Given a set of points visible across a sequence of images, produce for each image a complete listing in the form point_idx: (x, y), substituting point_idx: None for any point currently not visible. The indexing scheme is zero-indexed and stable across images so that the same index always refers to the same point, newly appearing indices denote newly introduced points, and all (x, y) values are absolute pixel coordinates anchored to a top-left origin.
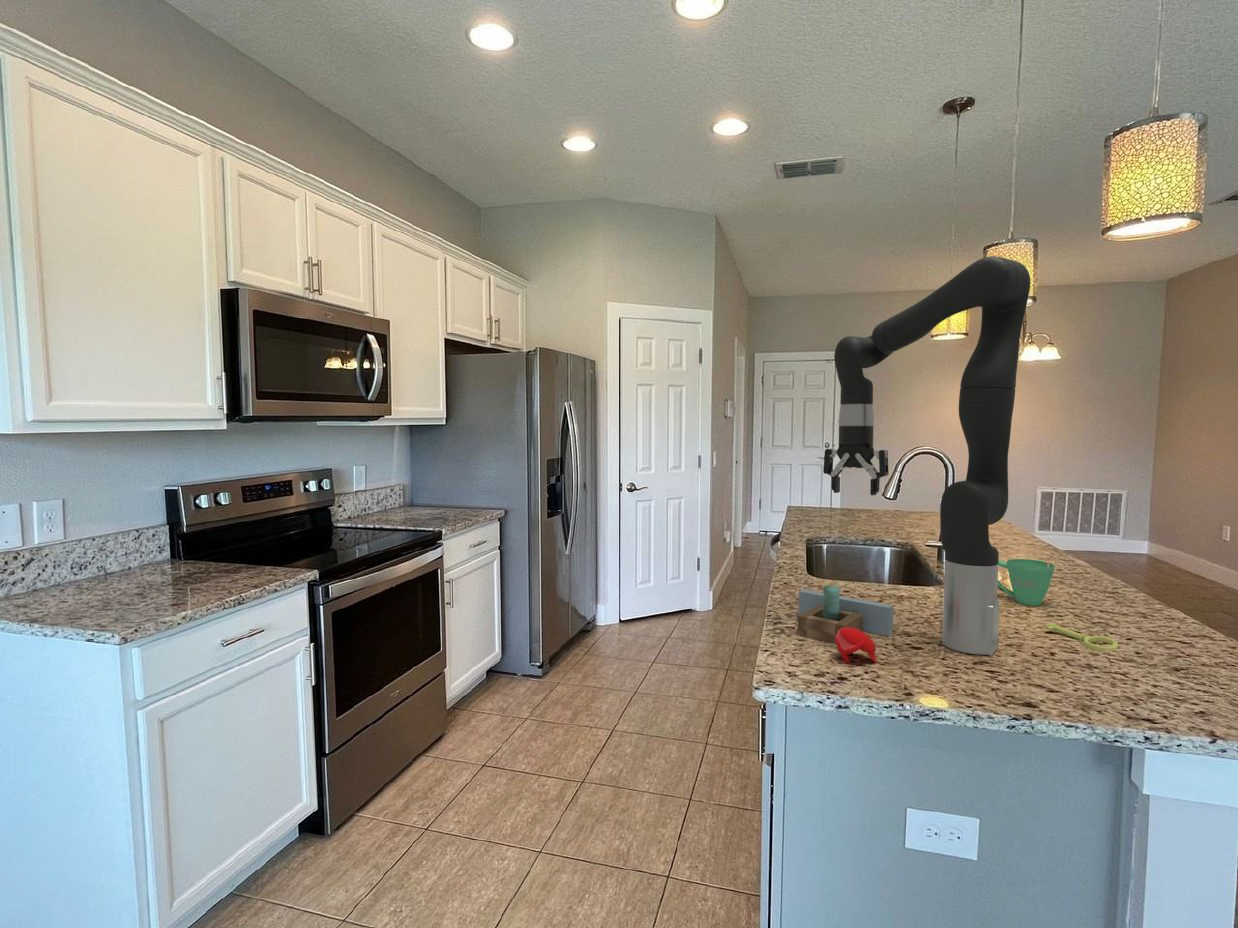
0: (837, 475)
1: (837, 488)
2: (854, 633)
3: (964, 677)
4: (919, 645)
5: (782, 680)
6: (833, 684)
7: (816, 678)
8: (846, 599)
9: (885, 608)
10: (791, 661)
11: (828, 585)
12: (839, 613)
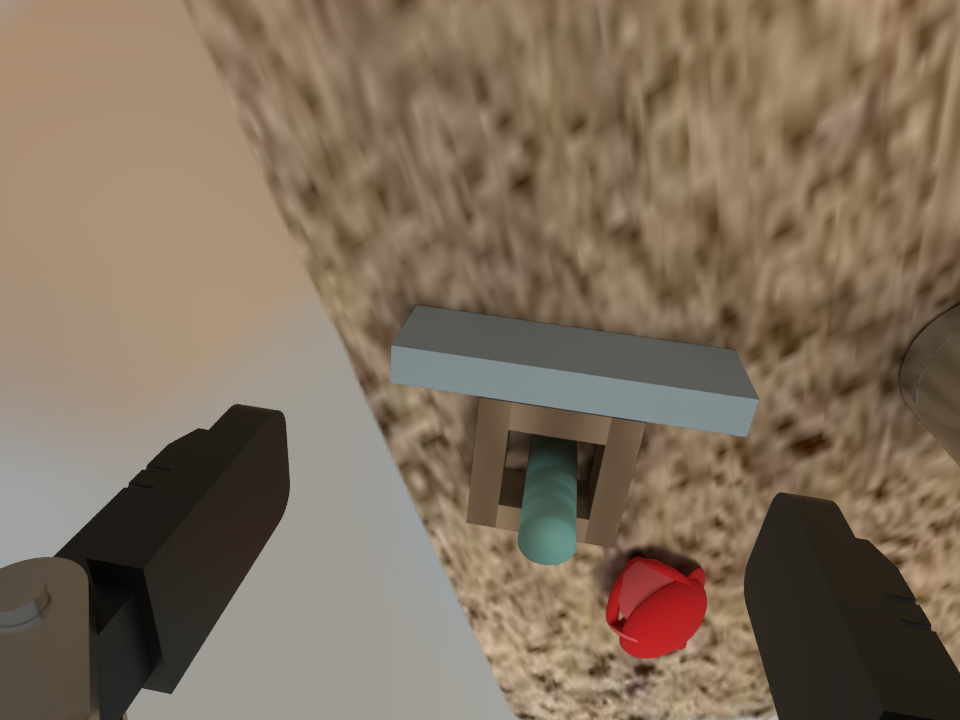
0: (123, 670)
1: (262, 517)
2: (661, 655)
3: (916, 582)
4: (819, 420)
5: (543, 707)
6: (634, 695)
7: (597, 684)
8: (578, 404)
9: (729, 431)
10: (526, 634)
11: (529, 526)
12: (568, 437)
